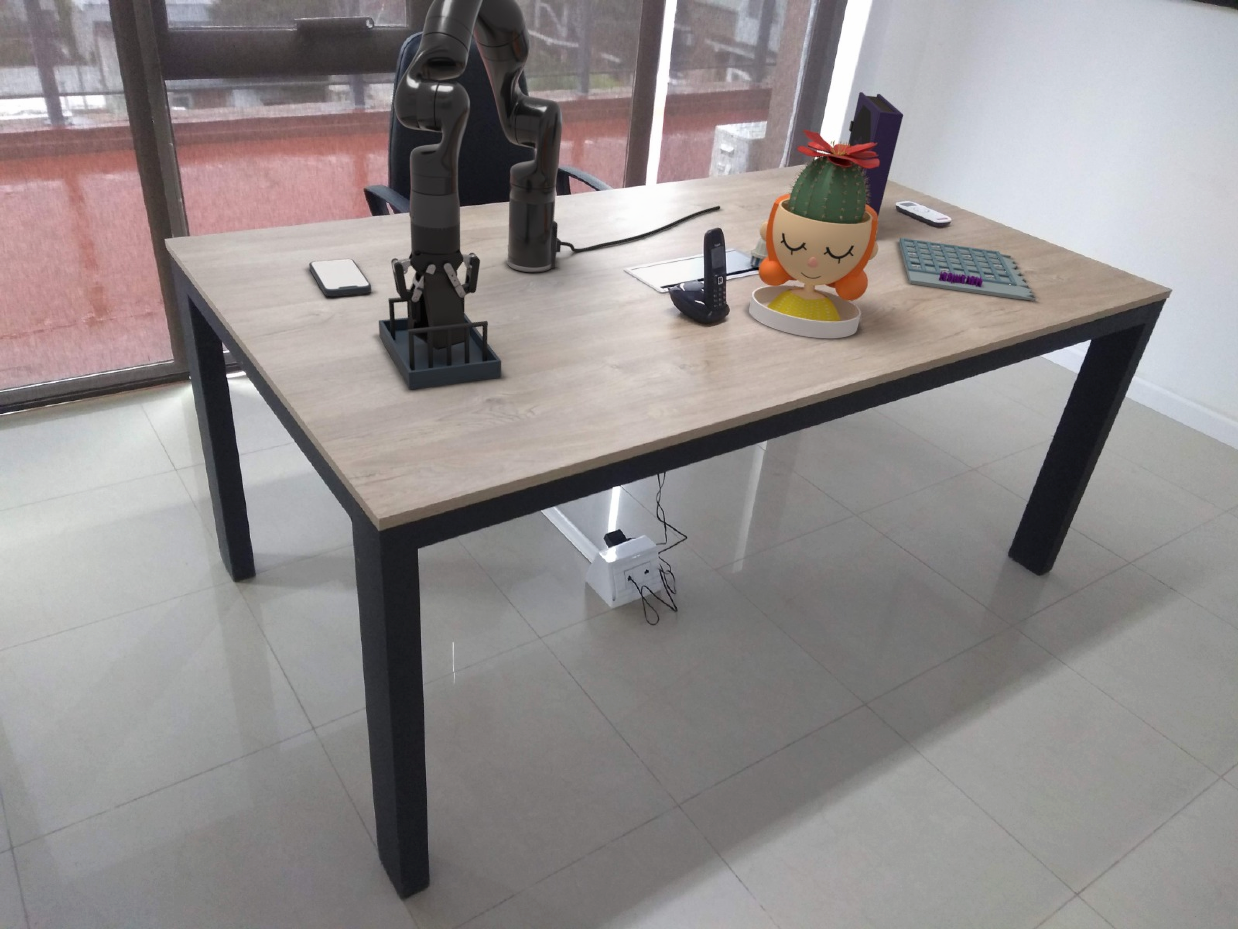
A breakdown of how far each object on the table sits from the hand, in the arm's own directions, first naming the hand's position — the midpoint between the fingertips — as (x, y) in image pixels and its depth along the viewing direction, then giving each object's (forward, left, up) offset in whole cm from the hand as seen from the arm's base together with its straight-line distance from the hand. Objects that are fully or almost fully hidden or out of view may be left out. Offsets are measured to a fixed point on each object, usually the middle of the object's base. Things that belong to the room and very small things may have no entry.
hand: (437, 318), depth 149 cm
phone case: (+9, -36, -7) cm, 38 cm away
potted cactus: (-74, +1, -7) cm, 74 cm away
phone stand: (0, 0, -3) cm, 3 cm away
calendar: (-128, -11, -7) cm, 129 cm away
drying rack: (0, 0, -7) cm, 7 cm away
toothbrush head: (-90, -26, -7) cm, 94 cm away
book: (-122, -45, -7) cm, 130 cm away
